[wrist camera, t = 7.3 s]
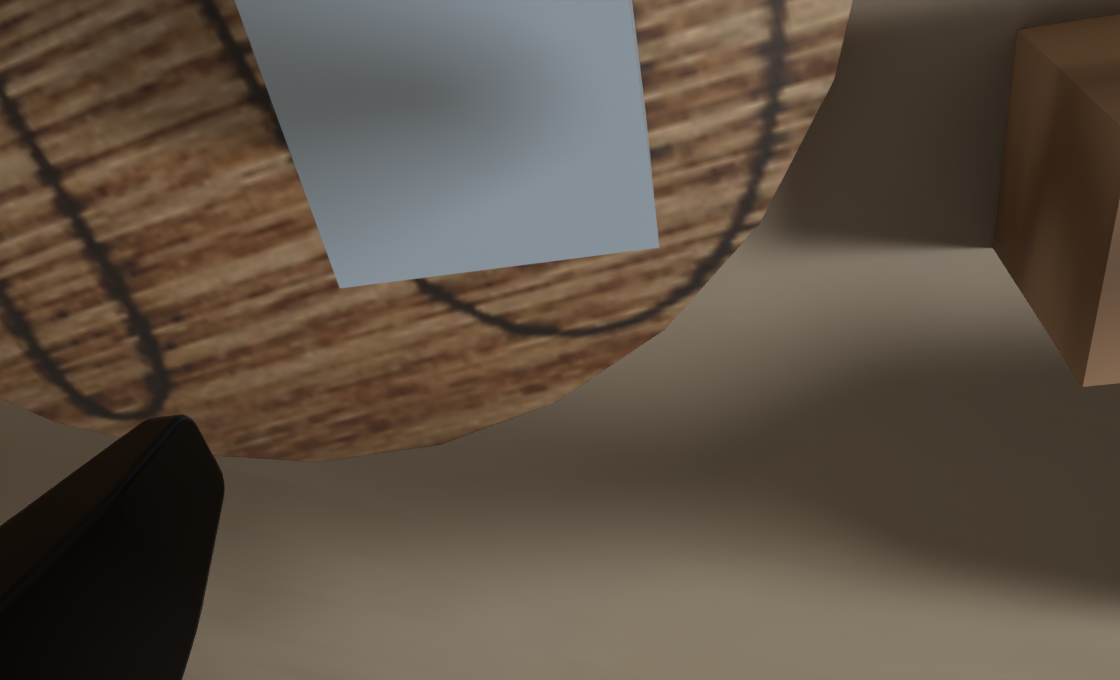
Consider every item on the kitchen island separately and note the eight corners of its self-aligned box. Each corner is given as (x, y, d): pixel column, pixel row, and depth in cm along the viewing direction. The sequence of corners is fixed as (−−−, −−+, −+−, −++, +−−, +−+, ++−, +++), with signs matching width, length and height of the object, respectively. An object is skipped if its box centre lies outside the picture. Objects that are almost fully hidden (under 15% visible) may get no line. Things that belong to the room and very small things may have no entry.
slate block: (645, 113, 18) (658, 247, 14) (394, 149, 19) (339, 288, 15) (610, -177, 15) (614, -111, 11) (314, -123, 16) (218, -42, 12)
